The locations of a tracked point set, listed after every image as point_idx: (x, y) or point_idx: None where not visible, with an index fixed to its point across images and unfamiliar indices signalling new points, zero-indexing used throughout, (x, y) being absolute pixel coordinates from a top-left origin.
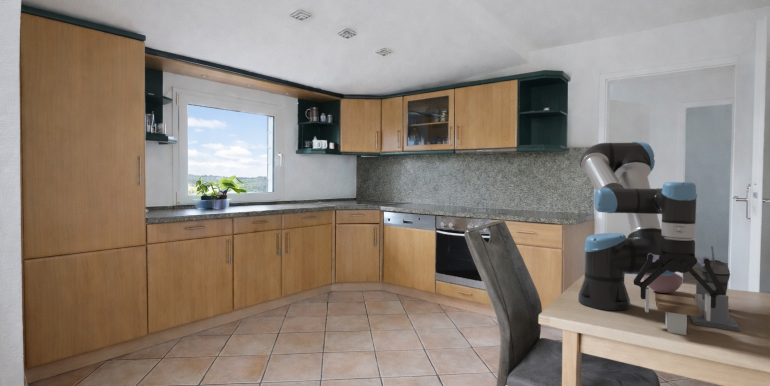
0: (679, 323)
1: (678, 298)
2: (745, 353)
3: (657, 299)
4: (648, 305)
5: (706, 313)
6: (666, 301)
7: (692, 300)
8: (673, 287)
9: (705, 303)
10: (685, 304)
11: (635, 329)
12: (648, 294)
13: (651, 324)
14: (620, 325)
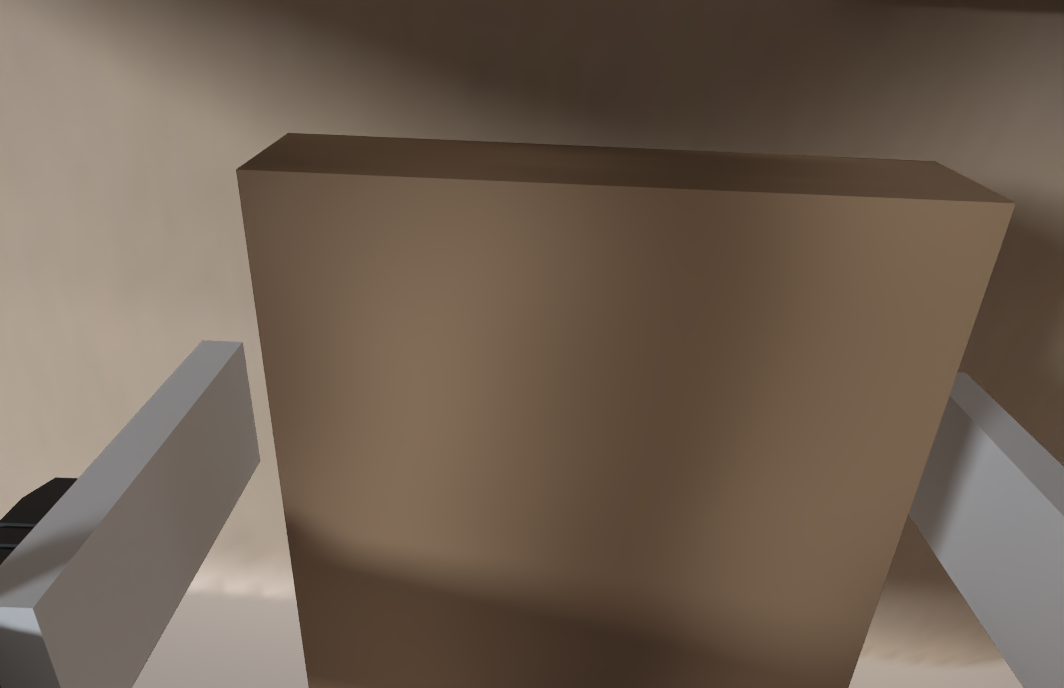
0: None
1: (670, 377)
2: (959, 632)
3: (305, 599)
4: (221, 522)
5: (935, 527)
6: (433, 645)
7: (898, 412)
8: None
9: (1044, 531)
10: (683, 679)
11: None
12: (135, 669)
13: None
14: (72, 439)
